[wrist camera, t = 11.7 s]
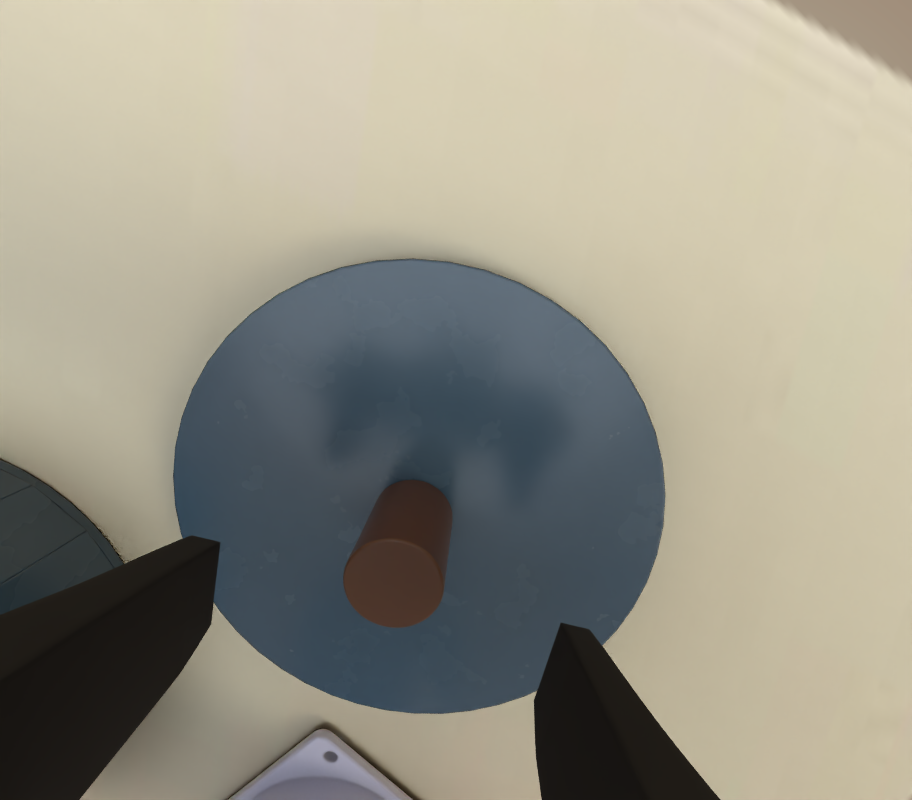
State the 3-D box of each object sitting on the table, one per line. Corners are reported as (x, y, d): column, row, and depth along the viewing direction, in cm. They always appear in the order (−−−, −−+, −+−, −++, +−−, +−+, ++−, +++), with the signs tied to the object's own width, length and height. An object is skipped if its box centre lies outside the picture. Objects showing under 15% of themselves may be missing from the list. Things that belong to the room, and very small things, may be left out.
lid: (750, 513, 15) (864, 608, 10) (417, 754, 18) (397, 906, 13) (418, 141, 13) (384, 65, 8) (105, 486, 16) (-40, 563, 11)
